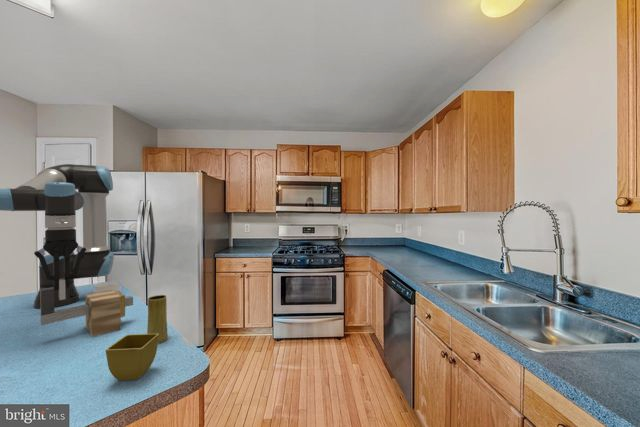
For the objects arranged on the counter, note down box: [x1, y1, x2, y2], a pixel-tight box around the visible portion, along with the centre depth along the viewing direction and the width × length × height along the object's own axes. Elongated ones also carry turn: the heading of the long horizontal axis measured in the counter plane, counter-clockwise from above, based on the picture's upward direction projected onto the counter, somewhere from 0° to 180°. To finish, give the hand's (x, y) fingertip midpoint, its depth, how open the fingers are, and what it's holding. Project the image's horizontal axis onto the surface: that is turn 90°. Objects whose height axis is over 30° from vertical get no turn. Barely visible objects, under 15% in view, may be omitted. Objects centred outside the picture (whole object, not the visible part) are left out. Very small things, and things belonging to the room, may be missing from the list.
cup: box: [93, 280, 122, 293], centre depth 117 cm, size 9×9×12 cm
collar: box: [117, 291, 126, 318], centre depth 104 cm, size 7×2×8 cm, turn 48°
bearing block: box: [85, 290, 122, 338], centre depth 100 cm, size 12×8×12 cm, turn 48°
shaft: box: [39, 287, 134, 326], centre depth 98 cm, size 3×25×11 cm, turn 138°
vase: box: [146, 294, 169, 344], centre depth 91 cm, size 6×6×14 cm
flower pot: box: [105, 333, 159, 382], centre depth 72 cm, size 9×9×9 cm
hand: (62, 298), depth 92 cm, fingers closed
